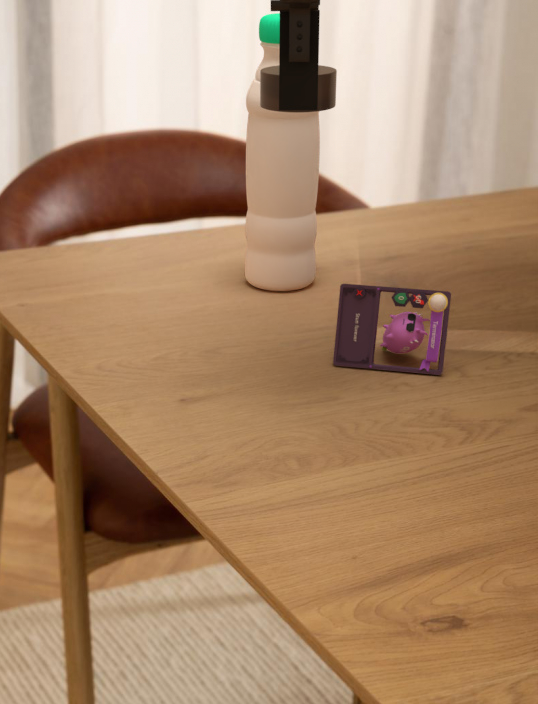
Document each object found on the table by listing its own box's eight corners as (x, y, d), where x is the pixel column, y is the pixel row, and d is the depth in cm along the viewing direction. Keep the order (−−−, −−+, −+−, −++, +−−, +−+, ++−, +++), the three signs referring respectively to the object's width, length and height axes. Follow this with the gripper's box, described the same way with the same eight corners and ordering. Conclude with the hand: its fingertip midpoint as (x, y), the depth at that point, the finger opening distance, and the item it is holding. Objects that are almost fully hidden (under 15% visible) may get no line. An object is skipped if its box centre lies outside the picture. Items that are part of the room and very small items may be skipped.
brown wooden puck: (334, 99, 89) (335, 64, 88) (336, 112, 84) (337, 75, 83) (261, 99, 89) (261, 64, 88) (258, 112, 84) (258, 75, 83)
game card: (339, 282, 97) (450, 291, 95) (347, 285, 102) (453, 293, 100) (331, 365, 98) (441, 375, 96) (340, 363, 103) (445, 373, 101)
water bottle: (246, 293, 115) (248, 19, 104) (242, 271, 121) (244, 10, 110) (319, 292, 115) (329, 18, 104) (311, 270, 122) (320, 10, 110)
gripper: (251, -260, 84) (252, 81, 95) (238, -290, 68) (241, 126, 78) (357, -263, 83) (346, 81, 94) (370, -294, 67) (354, 126, 78)
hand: (298, 101), depth 86 cm, fingers closed on brown wooden puck, 5 cm apart
